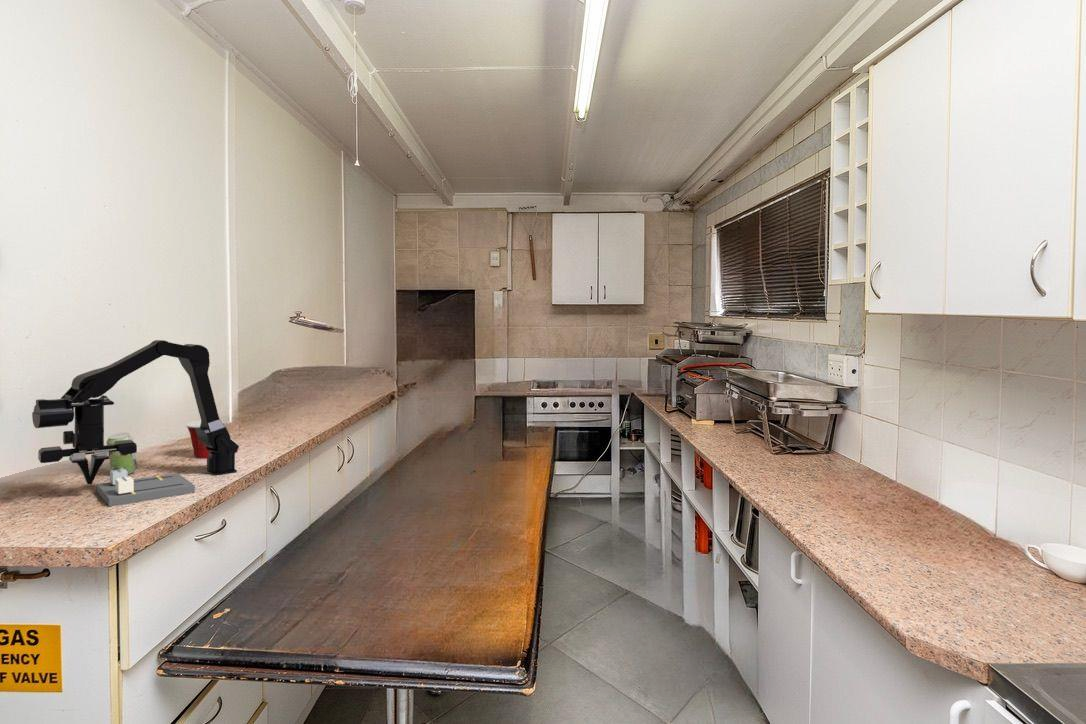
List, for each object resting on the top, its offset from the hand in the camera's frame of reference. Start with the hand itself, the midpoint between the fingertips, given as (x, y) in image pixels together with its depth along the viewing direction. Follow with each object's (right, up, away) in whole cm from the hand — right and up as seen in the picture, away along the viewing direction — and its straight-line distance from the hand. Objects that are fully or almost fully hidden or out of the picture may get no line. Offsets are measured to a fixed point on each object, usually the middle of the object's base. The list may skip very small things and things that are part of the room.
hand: (89, 484), depth 137 cm
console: (+11, -3, +5) cm, 12 cm away
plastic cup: (+1, -1, +45) cm, 45 cm away
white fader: (+4, -1, +4) cm, 6 cm away
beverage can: (-8, -2, +20) cm, 22 cm away
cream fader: (+11, -1, -3) cm, 11 cm away
